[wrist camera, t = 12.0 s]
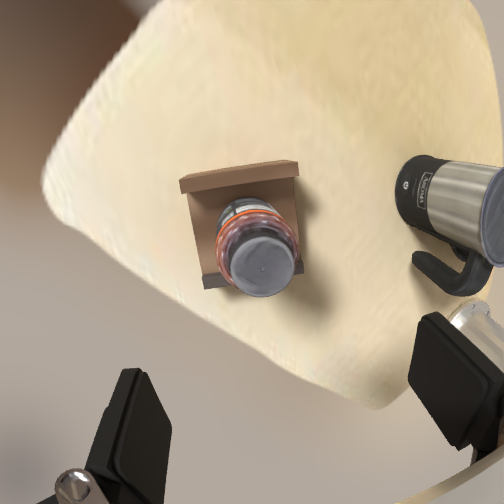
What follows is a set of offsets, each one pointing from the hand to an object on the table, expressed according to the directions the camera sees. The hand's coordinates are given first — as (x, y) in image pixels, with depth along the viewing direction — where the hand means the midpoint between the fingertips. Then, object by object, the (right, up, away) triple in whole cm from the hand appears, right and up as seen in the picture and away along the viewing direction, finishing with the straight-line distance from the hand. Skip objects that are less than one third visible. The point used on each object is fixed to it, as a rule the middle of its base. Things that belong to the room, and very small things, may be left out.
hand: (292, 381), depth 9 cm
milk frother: (+23, +10, +25) cm, 35 cm away
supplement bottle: (-2, +7, +20) cm, 21 cm away
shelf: (-2, +8, +23) cm, 24 cm away
